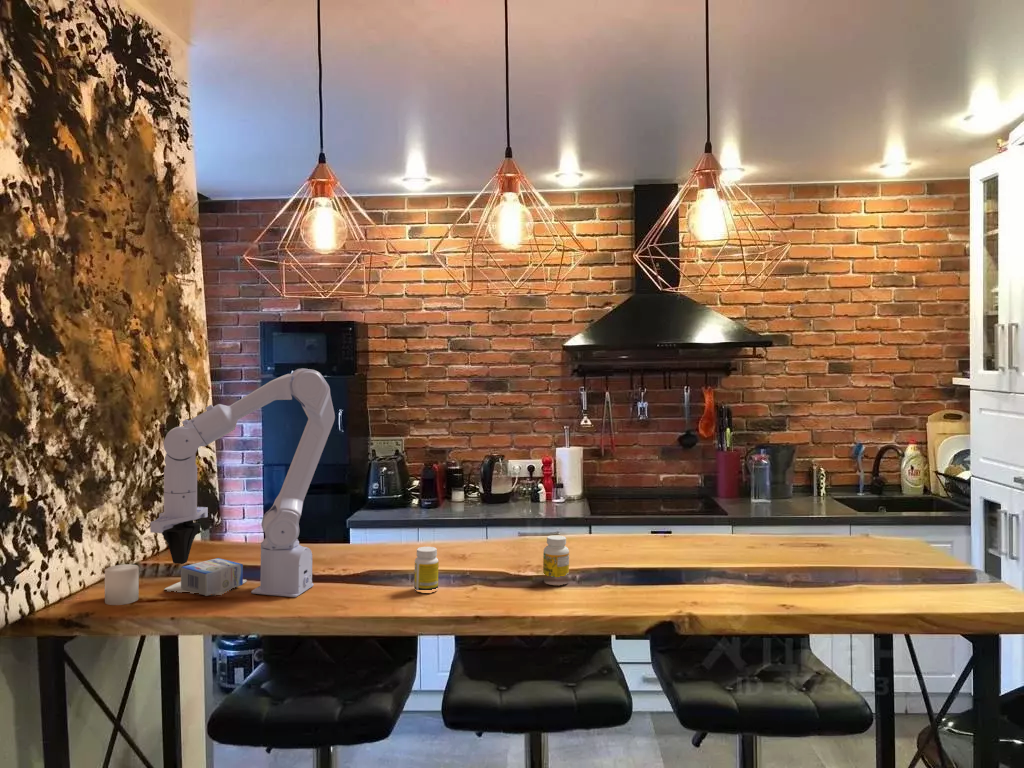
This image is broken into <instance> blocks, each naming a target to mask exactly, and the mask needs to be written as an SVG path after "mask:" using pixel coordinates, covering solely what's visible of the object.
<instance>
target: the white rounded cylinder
mask: <svg viewBox="0 0 1024 768" xmlns="http://www.w3.org/2000/svg"><path fill="white" fill-rule="evenodd" d="M139 571H140V568H139V566H138V565H137V564H130V563H129V564H127V563H126V564H117V565H112V566H109V567H107V568H105V569H104V603H105V604H106V605H108V606H109V605H110V606H121V605H128V604H132V603H135V602H137V601H138V600H139V594H140V593H139V589H140V587H139V579H140V578H139V575H140V572H139Z"/></svg>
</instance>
